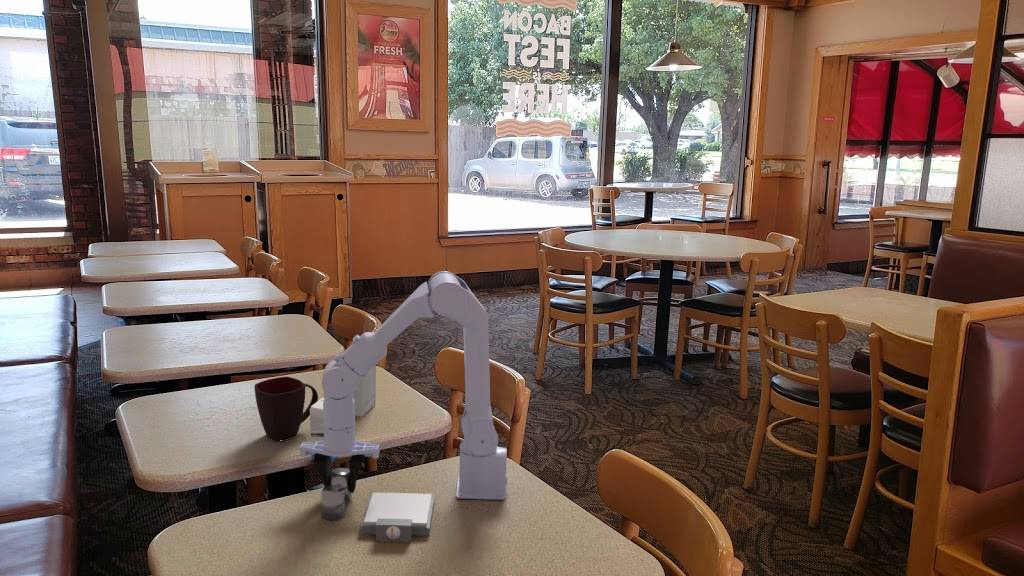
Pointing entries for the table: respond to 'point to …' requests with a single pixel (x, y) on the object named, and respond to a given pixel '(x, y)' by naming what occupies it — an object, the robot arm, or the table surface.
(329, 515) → the cylinder
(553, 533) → the table surface
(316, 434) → the ink box
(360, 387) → the skincare box
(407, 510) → the scale
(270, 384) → the cup
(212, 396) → the table surface
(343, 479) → the cylinder
